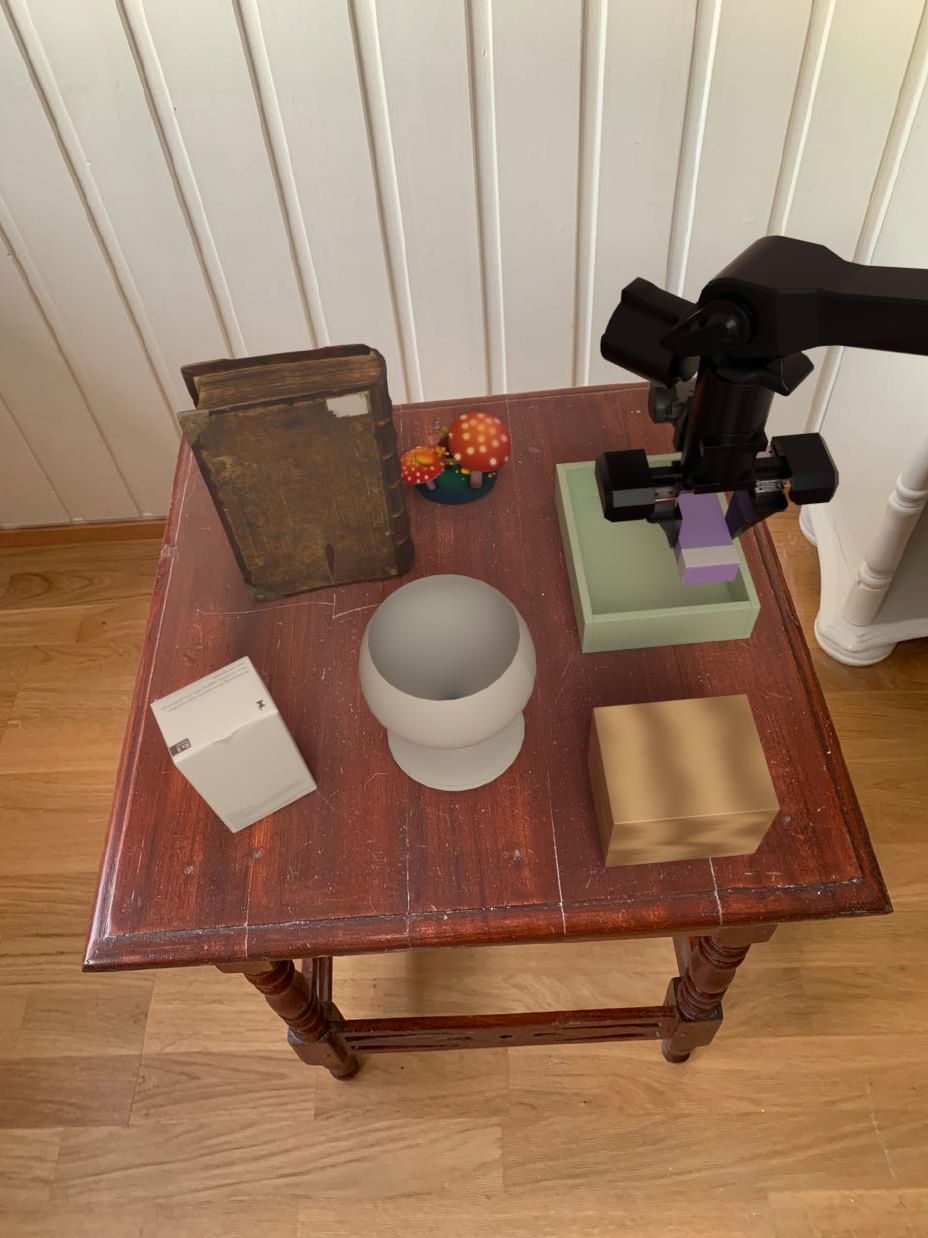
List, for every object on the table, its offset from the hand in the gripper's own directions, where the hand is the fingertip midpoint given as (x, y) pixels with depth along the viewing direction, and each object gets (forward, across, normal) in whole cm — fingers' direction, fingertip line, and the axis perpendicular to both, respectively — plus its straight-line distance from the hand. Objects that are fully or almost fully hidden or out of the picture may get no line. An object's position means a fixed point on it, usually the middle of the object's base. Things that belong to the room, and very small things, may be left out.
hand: (697, 542), depth 81 cm
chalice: (+8, +23, +12) cm, 27 cm away
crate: (+8, +6, +21) cm, 23 cm away
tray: (+8, +3, -4) cm, 9 cm away
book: (+8, +34, -7) cm, 36 cm away
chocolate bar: (0, 0, 0) cm, 0 cm away
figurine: (+8, +21, -19) cm, 29 cm away
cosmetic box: (+8, +40, +16) cm, 44 cm away
